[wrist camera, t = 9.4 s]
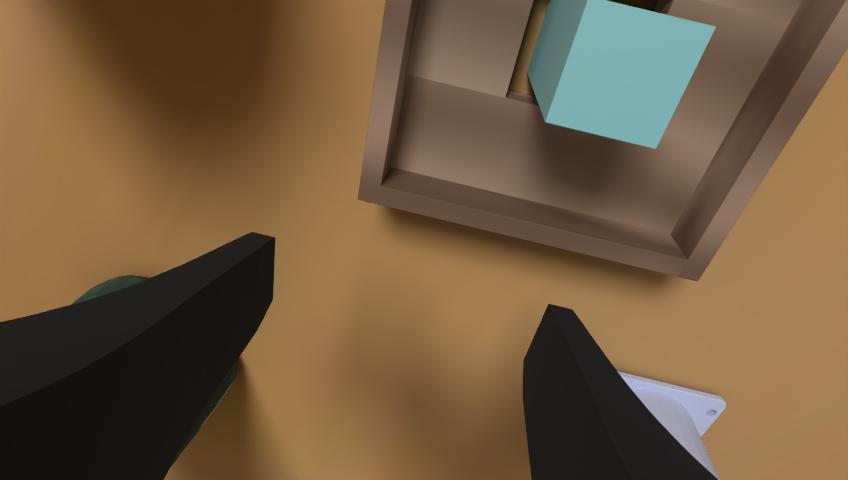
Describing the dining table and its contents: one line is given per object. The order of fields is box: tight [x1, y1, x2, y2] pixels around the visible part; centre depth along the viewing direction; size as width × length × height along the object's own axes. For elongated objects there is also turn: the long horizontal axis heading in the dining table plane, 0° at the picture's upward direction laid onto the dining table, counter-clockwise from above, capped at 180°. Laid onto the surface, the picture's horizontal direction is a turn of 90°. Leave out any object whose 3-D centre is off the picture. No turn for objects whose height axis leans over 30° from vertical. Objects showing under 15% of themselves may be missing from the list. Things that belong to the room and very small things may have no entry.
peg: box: [527, 0, 716, 149], centre depth 14 cm, size 3×3×7 cm
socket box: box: [358, 0, 848, 281], centre depth 16 cm, size 14×14×4 cm
